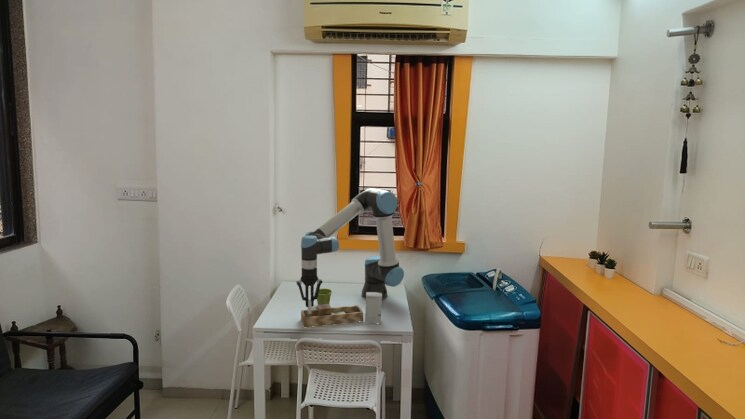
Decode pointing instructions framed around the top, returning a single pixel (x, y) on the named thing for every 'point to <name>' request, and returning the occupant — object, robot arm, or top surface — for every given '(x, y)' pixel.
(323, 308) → the walnut block
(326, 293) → the plant pot
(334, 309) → the wooden cubby shelf
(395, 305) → the top surface
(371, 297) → the skincare box
